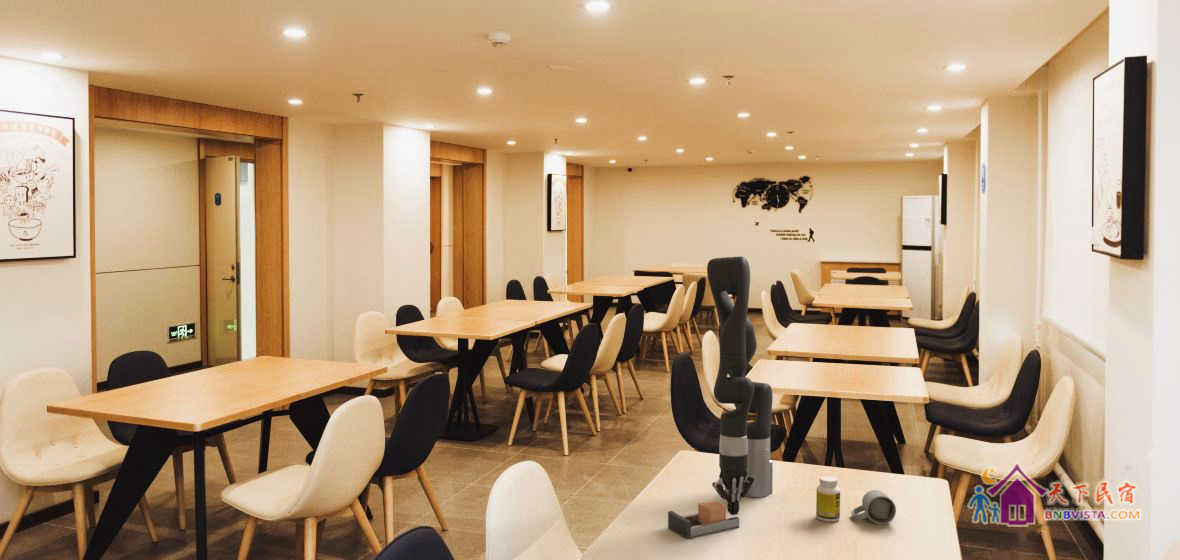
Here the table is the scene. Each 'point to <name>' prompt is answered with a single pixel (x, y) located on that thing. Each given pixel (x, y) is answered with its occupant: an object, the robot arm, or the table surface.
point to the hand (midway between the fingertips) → (733, 513)
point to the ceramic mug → (875, 508)
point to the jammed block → (711, 512)
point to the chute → (698, 525)
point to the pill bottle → (828, 500)
